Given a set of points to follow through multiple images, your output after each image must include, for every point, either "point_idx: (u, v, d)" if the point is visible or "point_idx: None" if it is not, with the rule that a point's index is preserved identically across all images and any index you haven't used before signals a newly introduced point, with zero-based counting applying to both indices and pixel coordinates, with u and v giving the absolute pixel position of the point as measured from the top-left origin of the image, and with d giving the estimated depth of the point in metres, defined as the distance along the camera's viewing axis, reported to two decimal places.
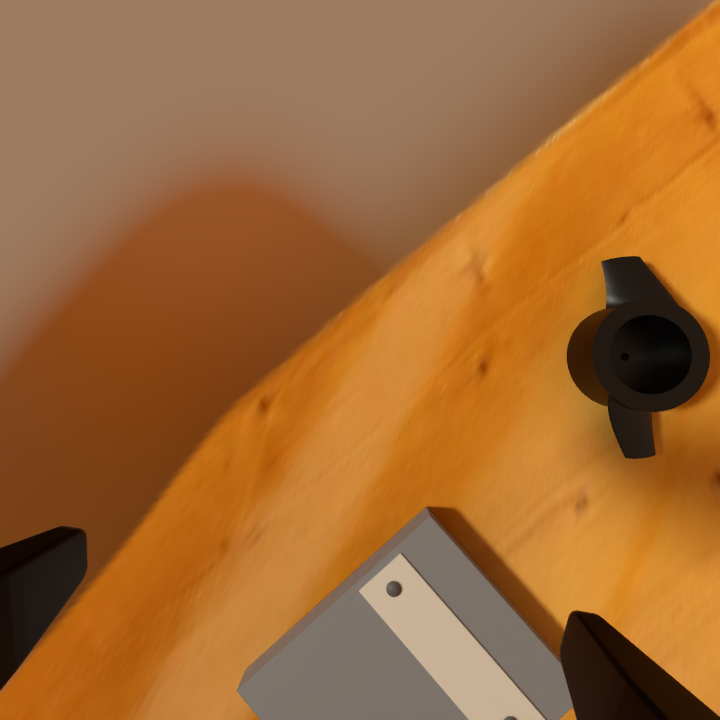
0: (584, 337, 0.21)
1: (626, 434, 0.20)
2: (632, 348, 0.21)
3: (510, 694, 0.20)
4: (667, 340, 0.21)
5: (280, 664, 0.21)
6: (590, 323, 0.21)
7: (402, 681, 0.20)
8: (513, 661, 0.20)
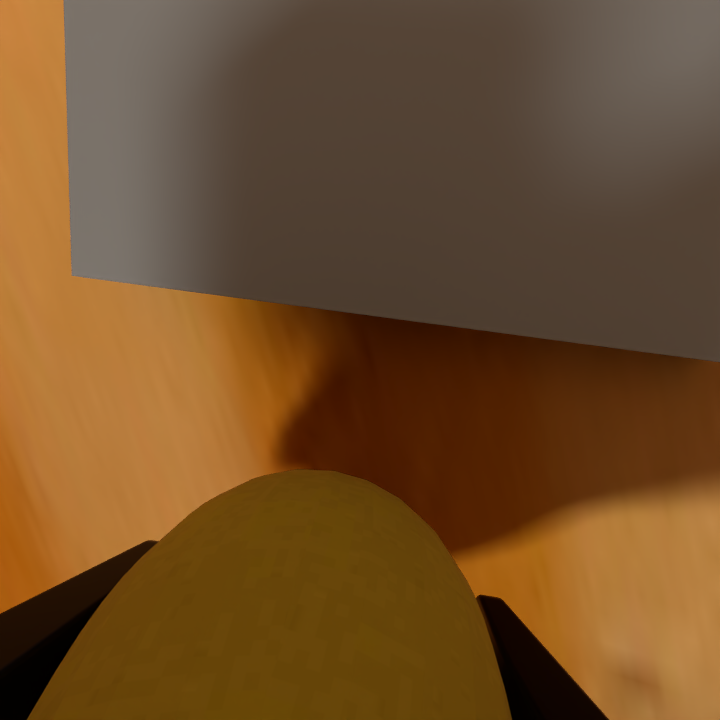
0: None
1: None
2: None
3: None
4: None
5: (96, 106, 0.06)
6: None
7: None
8: None
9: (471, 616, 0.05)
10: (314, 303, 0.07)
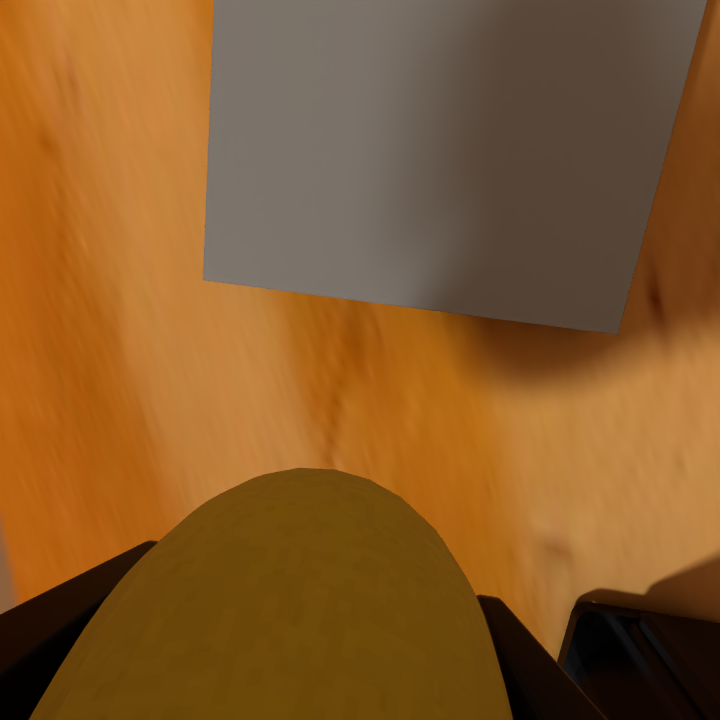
0: None
1: None
2: None
3: None
4: None
5: (224, 183, 0.11)
6: None
7: (422, 18, 0.10)
8: None
9: (472, 613, 0.05)
10: (347, 296, 0.11)
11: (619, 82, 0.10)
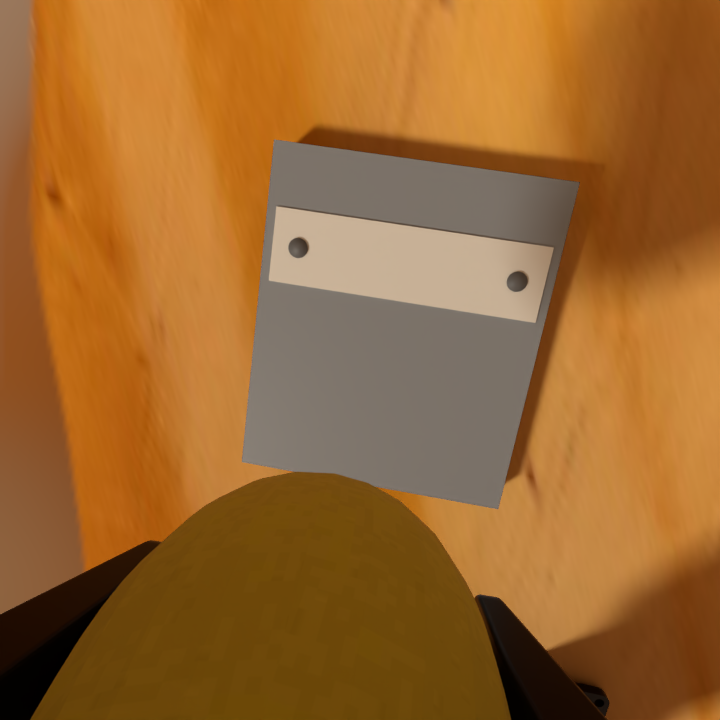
0: None
1: None
2: None
3: (495, 251, 0.15)
4: None
5: (258, 409, 0.17)
6: None
7: (379, 331, 0.16)
8: (475, 216, 0.15)
9: (471, 619, 0.05)
10: None
11: (493, 372, 0.16)
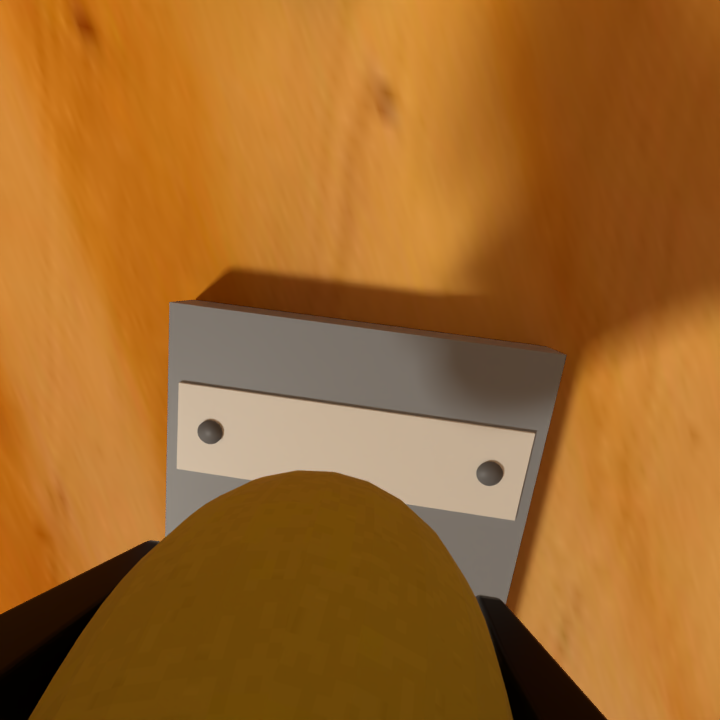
0: None
1: None
2: None
3: (461, 437, 0.12)
4: None
5: None
6: None
7: None
8: (432, 395, 0.12)
9: (473, 618, 0.04)
10: None
11: (464, 573, 0.13)
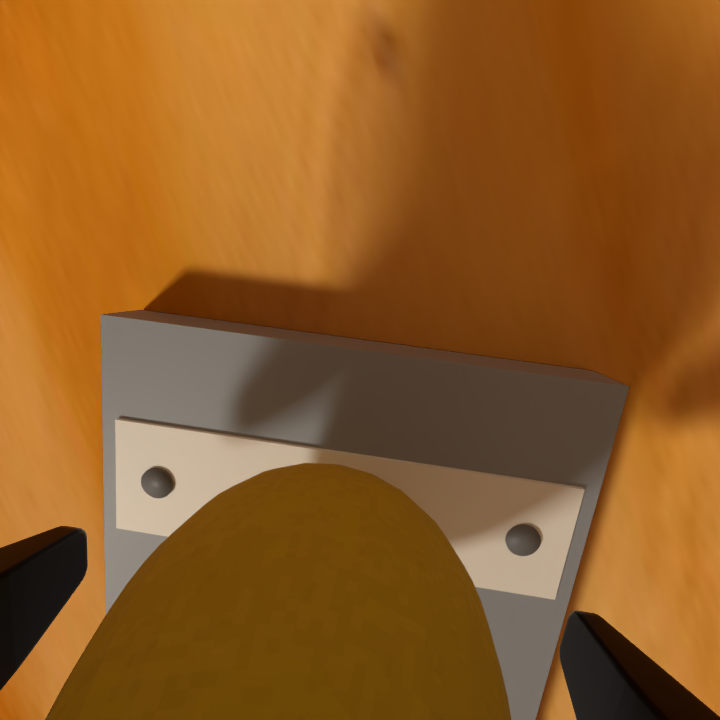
0: None
1: None
2: None
3: (485, 493, 0.09)
4: None
5: None
6: None
7: None
8: (448, 438, 0.09)
9: (469, 597, 0.05)
10: None
11: None
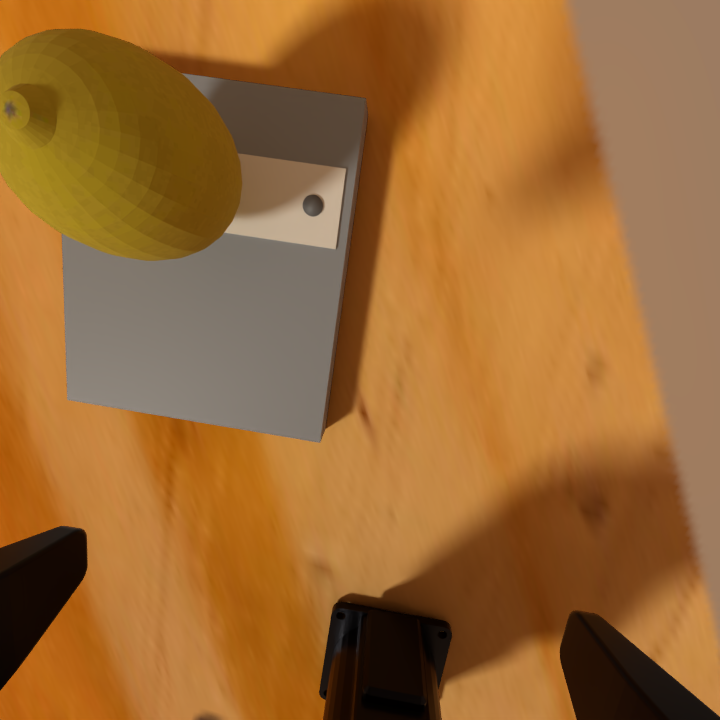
0: None
1: None
2: None
3: (289, 174, 0.15)
4: None
5: (76, 345, 0.17)
6: None
7: (184, 261, 0.16)
8: (266, 137, 0.15)
9: (208, 102, 0.11)
10: (156, 413, 0.18)
11: (301, 302, 0.16)
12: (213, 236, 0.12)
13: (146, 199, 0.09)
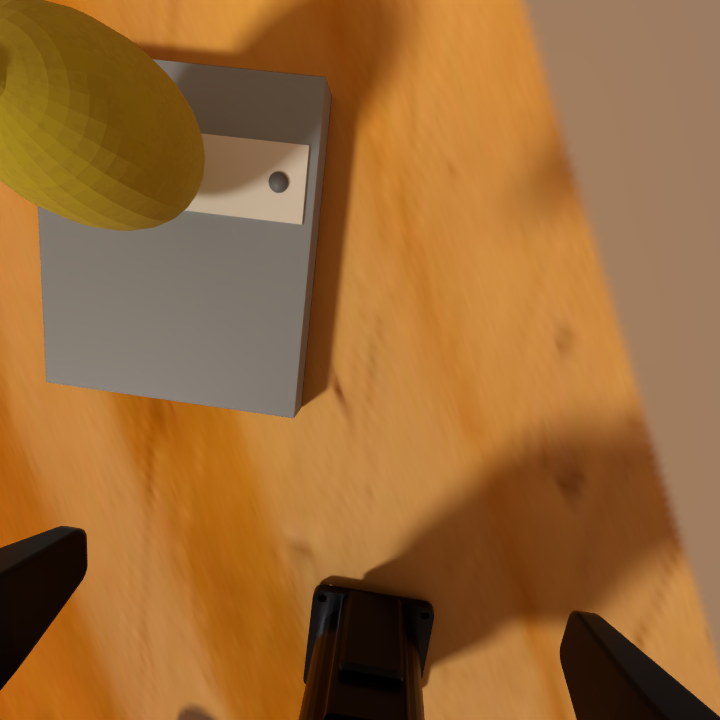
0: None
1: None
2: None
3: (254, 152, 0.15)
4: None
5: (53, 326, 0.18)
6: None
7: (157, 240, 0.16)
8: (231, 117, 0.15)
9: (164, 73, 0.11)
10: (133, 393, 0.18)
11: (271, 277, 0.16)
12: (174, 205, 0.13)
13: (99, 157, 0.10)
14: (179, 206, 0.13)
